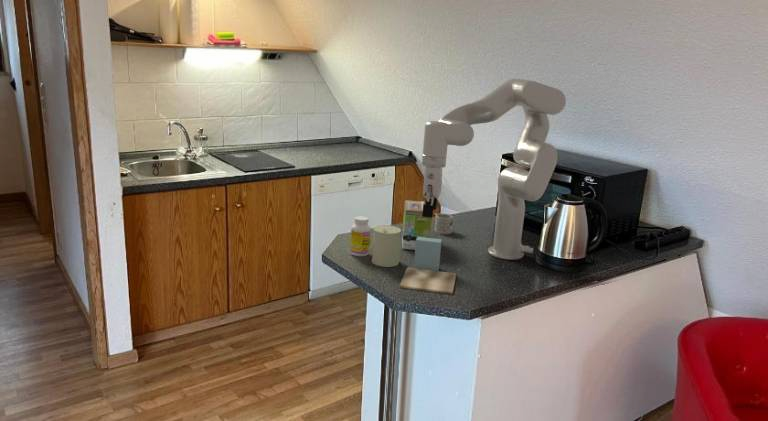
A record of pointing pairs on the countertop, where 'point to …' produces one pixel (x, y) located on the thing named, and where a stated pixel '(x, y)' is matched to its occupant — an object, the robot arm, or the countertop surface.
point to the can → (386, 246)
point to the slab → (427, 253)
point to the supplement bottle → (360, 237)
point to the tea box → (414, 224)
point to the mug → (443, 224)
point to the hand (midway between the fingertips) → (429, 213)
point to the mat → (428, 280)
